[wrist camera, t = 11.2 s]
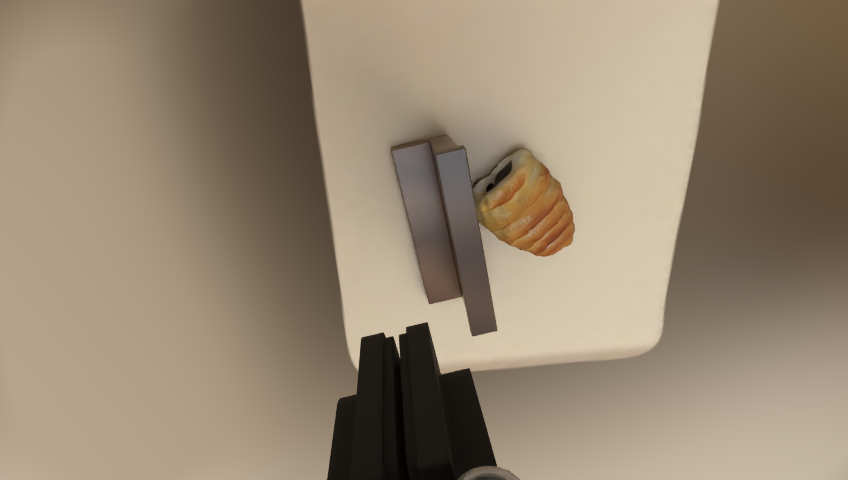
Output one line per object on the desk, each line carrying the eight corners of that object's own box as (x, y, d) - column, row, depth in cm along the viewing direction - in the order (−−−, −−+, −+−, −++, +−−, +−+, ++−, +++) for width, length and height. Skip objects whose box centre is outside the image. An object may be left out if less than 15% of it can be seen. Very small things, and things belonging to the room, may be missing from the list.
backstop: (390, 145, 33) (391, 164, 27) (450, 130, 33) (465, 147, 27) (428, 299, 39) (436, 345, 33) (479, 287, 39) (497, 331, 33)
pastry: (586, 214, 37) (607, 231, 34) (528, 266, 39) (542, 287, 35) (517, 139, 34) (533, 148, 30) (457, 198, 36) (464, 214, 32)
